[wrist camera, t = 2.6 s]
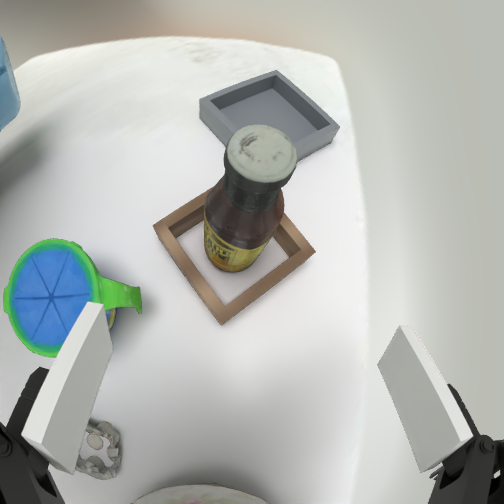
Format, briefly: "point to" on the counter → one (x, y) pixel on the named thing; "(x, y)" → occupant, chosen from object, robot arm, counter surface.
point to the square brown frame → (167, 233)
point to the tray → (269, 112)
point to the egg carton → (93, 463)
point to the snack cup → (59, 294)
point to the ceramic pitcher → (198, 495)
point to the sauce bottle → (248, 196)
